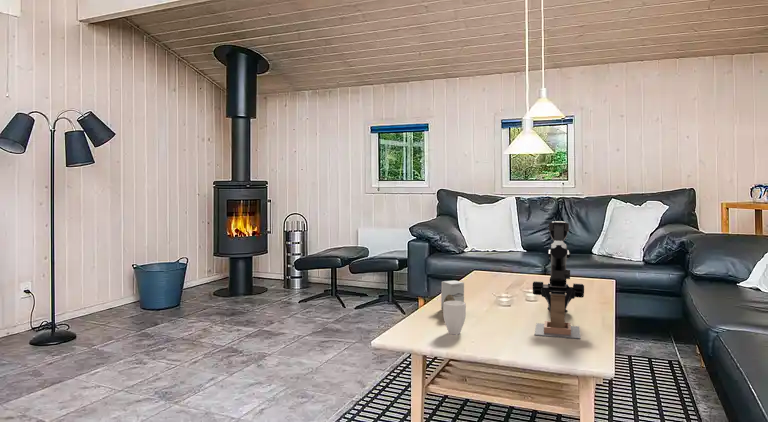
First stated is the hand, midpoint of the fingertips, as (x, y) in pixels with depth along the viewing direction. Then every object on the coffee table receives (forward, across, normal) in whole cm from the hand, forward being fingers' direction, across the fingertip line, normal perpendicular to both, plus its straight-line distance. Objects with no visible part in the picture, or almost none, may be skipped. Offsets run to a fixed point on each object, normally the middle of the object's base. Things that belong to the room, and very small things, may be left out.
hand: (557, 308), depth 202 cm
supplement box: (-8, -44, +22) cm, 50 cm away
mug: (+14, -37, -1) cm, 39 cm away
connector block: (+4, 0, +6) cm, 8 cm away
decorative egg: (+1, -42, +12) cm, 44 cm away
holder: (+6, 0, +7) cm, 9 cm away
